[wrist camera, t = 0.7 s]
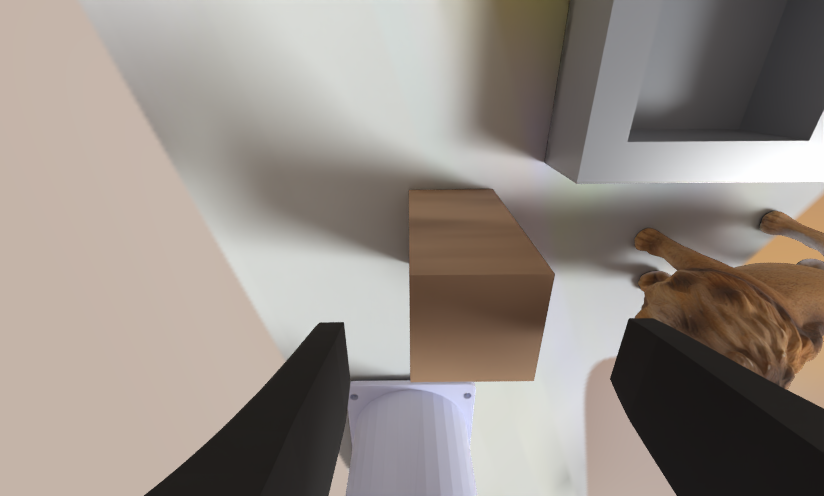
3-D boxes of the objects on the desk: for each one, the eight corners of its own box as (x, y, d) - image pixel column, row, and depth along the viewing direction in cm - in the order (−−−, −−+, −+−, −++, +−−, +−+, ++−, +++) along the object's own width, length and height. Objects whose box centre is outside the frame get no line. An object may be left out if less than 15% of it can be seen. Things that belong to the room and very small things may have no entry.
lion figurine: (571, 323, 21) (676, 484, 13) (564, 242, 18) (689, 375, 10) (849, 265, 19) (1172, 406, 11) (879, 170, 17) (1315, 259, 9)
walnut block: (485, 263, 19) (533, 380, 12) (409, 263, 19) (410, 382, 12) (492, 189, 17) (554, 273, 10) (408, 189, 17) (409, 275, 10)
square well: (749, 161, 17) (829, 181, 13) (544, 162, 16) (576, 183, 13) (861, -116, 12) (1018, -181, 9) (588, -115, 12) (649, -180, 9)
